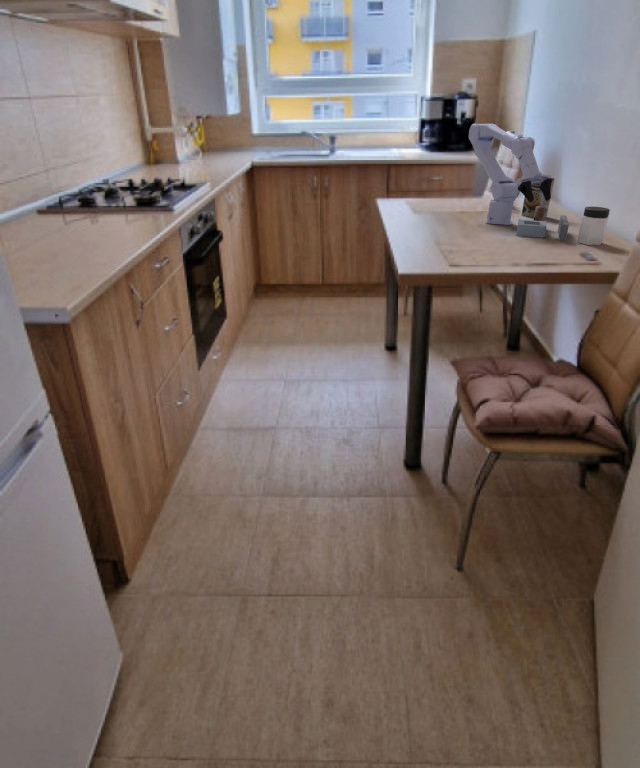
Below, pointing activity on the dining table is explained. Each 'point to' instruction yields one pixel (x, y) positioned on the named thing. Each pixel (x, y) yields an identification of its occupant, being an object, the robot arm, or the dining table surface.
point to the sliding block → (531, 228)
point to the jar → (593, 225)
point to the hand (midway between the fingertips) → (540, 200)
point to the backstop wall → (563, 228)
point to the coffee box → (536, 201)
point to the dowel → (539, 213)
